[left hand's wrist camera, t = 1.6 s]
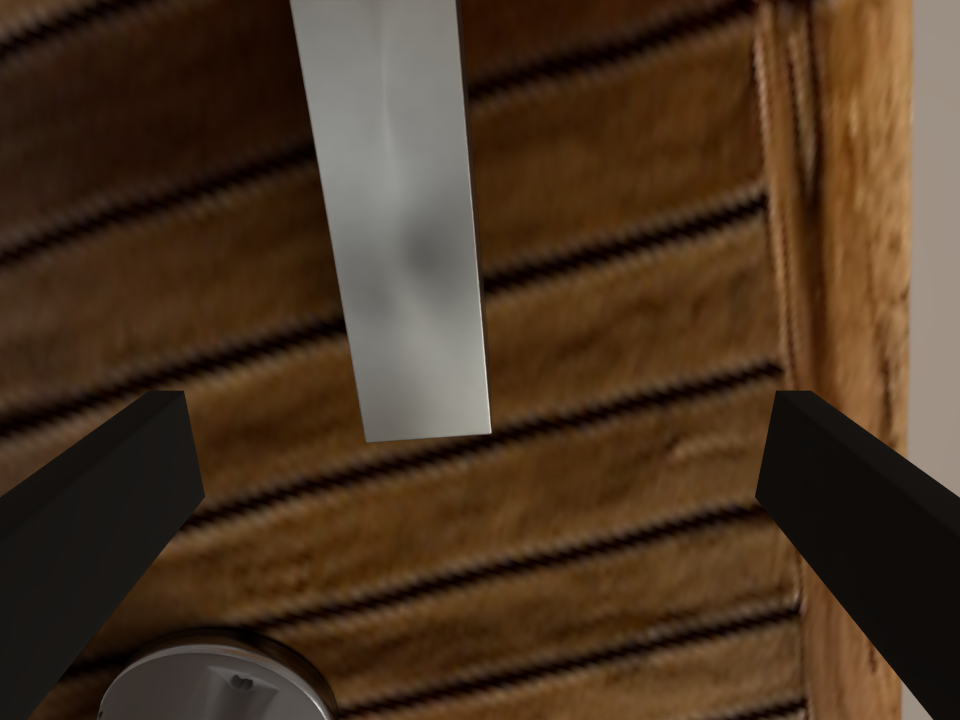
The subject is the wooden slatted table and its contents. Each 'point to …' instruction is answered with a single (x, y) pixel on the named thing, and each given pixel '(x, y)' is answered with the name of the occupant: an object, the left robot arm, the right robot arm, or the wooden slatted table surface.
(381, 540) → the wooden slatted table surface
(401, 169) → the bar
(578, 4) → the wooden slatted table surface
